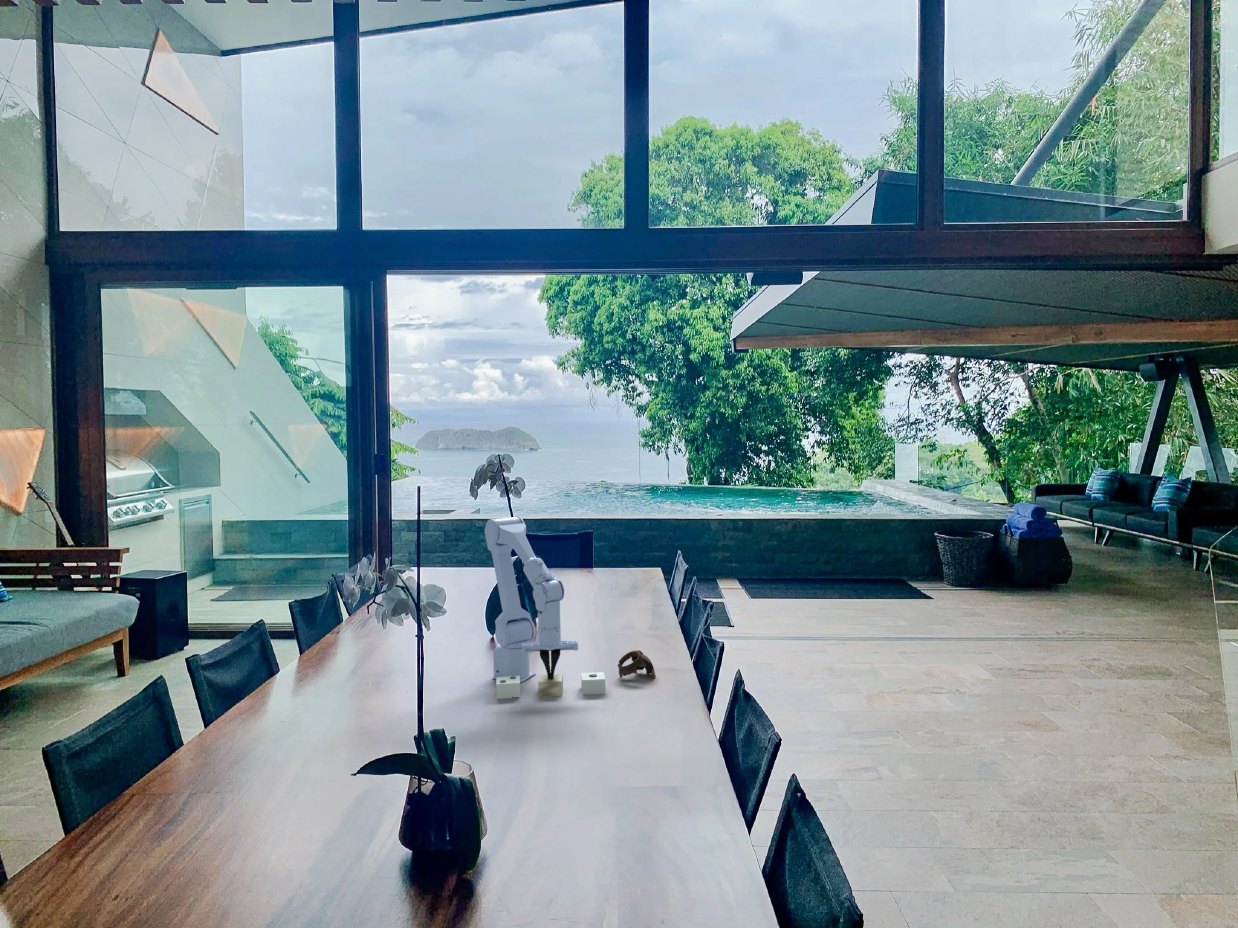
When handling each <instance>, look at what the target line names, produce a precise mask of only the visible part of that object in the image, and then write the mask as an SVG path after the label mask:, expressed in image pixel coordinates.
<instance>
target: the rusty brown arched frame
mask: <svg viewBox="0 0 1238 928" xmlns="http://www.w3.org/2000/svg"><path fill="white" fill-rule="evenodd" d="M630 659H631V661H632V662H631V663H629V664H627V665H624V664H625V663H626V662H627V661H628V660H630ZM623 665H624V666H623ZM617 668H618V676H619V677H620V678H621V677H623V676H624V677H626V676H630V675H631V674H636V675H638V671H644V669H645V673H646V674H647V675H649V674H651V675H652V679H653V680H655V679H656V677H657V676H656V673H655V668H654V664H653V662H652V661H651V659H650V658H649V657H648V656H647V655H645V654H644V653H643V651H642V650H639V649H638V650H632V651H629V652H627V653H626V654H624V655H623V656H622V657H620V659H619V660H618V664H617Z"/></svg>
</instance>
